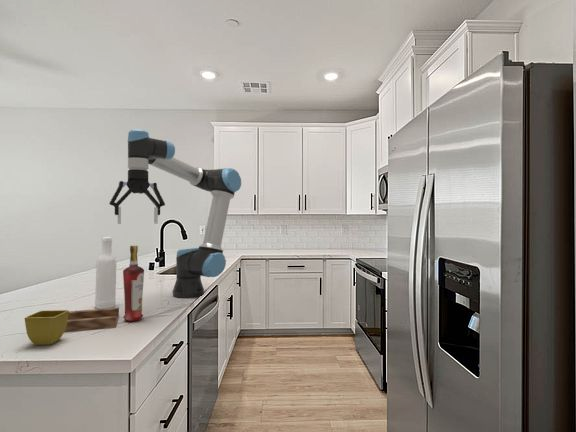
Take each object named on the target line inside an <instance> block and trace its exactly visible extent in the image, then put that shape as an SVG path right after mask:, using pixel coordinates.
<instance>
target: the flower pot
mask: <svg viewBox="0 0 576 432" xmlns="http://www.w3.org/2000/svg"><path fill="white" fill-rule="evenodd" d="M69 311H70V310H68V309H65V310H64V309H62V310H61V309H60V310H57V309H56V310H48V309H47V310H39V311H37V312H34V313H32V314H29V315H27V316H25V317H24V325H25V330H26V335H27V337H28V340H30V342H31V343H32V344H33V345H35V346H41V345H42V346H43V345H44V346H45V345H53V344H55V343H56V342H57V341H60V339H61V338H62V337H63V335H64V333H65V332H64V331H65V329H66V326H67V320H68V313H69Z"/></svg>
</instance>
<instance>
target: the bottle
mask: <svg viewBox="0 0 576 432" xmlns="http://www.w3.org/2000/svg"><path fill="white" fill-rule="evenodd" d="M101 242H102V245H101V246H102V247H101V254H100V255H98V256H97V258H96V264H95V265H96V266H95V267H96V268H95V297H94V298H95V299H94V305H95V306H94V307H95V309H107V308H115V307H116V294H117V293H116V291H117V289H116V288H117V286H116V285H117V259H116V256H115V255H114V254H113V253H112V249H113V248H112V247H113V244H112V243H113V237H112V236H103V237H102V238H101Z"/></svg>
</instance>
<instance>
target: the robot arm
mask: <svg viewBox="0 0 576 432" xmlns="http://www.w3.org/2000/svg"><path fill="white" fill-rule="evenodd" d="M149 135H150V134H149V131H147V130H145V129H130V130H129V131H128V133H127V168H128V170H127V182H126V181H123V180H120V181H118V186H117V188H116V191H115V192H114V194H113V196H112V197H111V199H110V201H109V205H110V206H112V207H114V215H115V216H117V224H118V225H121V224H122V207H121V204H122V203H124V201H125V200H126V199H127V198H128V196H129V195H131V194H139V195H140V194H144V195H146V197H147V198H148V199H149V201H151V202H152V204H153V205H154V206H155V207H153V223H154V224H156V225H157V224H158V221H159V220H158V219H159V216H160V215H161V208H162V207H164V206H166V203H165V200H164V199H163V197H162V195H161V192H160V191H159V188H158V183H157V182H153V183H150V182H149V171H148V170H149V166H152V167H155V168H157V169H159V170H161V171H164V172H166V173H168V174H170V175H171V174H172V175H173V176H175V177H178V178H180V179H182V180H185V181H186V182H189V184H190V185H191V186H194V187H196V188H198V189H201V190H203V191H206V192H209V193H210V194H211V196H212V199H211V204H210V207H209V209H210V210H209V212H208V213H209V214H208V218H207V223H206V228H205V232H204V237H203V241H202V243H201V244H200V245H199V246H198V247H195V248H194V247H193V248H183V249H178V250H177V252H176V258H175V259H176V261H175V263H176V264H175V265H176V266H175V267H176V281H175V284H174V286H173V289H172V296H173V297H175V298H179V299H180V298H183V299H187V298H188V299H190V298H197V297H202V296H204V295H205V288H204V285H203V282H202V279H201V277H206V278H216V277H219V276H220V275H221V274H222V273H223V271H225V268H226V265H227V260H226V256H225V255H224V253H223V252H224V249H223V248H222V243H223V239H224V238H223V236H224V232H225V227H226V221H227V217H228V213H229V212H228V211H229V207H230V203H231V199H233V198H234V197H235V193H237V192H238V191H239V190H240V189H241V187H242V177H241V176H240V173H239V172H238V171H237V169H235V168H232V167H231V168H229V167H225V168H216V169H206V168H205V169H203V168H201V167H194V166H193V165H190V164H188V163H186V162H184V161H183V160H179V159H177V158H175V157H174V156H175V154H176V147H175V144H174V143H173V142H170V141H167V140H162V139H157V138H152V137H150V136H149ZM125 186H126V187H127V188H128V190H126V191H125V193H124V194H123V195H122V196H121V197H120V198H119V199H118V197H119V195H120V193H121V192H122V190H123V188H125ZM149 188H151V189H152V190H153V192H154V194H155V196H156V198H157V199H156V198H155V197H154V196H153V195H152V193H151V192H150V191H149ZM117 199H118V200H117ZM116 200H117V201H116ZM157 200H158V201H157Z"/></svg>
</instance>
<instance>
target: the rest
mask: <svg viewBox="0 0 576 432" xmlns="http://www.w3.org/2000/svg"><path fill="white" fill-rule="evenodd" d="M119 317H120V308H119V307H113V308H107V309H97V308H95V309H82V310H69V313H68V320H67V326H66V329H65V331H64V333H70V332H79V331H80V332H81V331H91V330H101V329H102V330H103V329H111V328H112V329H113V328H117V323H118V320H119Z"/></svg>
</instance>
